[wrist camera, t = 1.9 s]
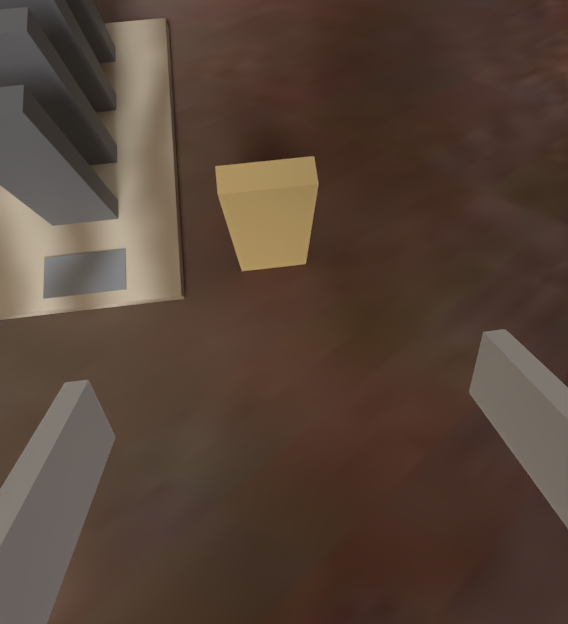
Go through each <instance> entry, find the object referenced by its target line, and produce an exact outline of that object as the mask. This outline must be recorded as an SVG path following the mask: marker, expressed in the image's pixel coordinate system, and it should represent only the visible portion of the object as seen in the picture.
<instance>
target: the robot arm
mask: <svg viewBox="0 0 568 624" xmlns="http://www.w3.org/2000/svg"><path fill="white" fill-rule="evenodd" d="M469 393H470V395H471V396H472V397H473V399H474V400H475V401H476V403H477V404H478V406H479V407H480V408H481V410H482V411H483V412H484V414H485V415H486V417H487V418H488V419H489V421H490V422H491V423H492V425H493V426H494V428H495V429H496V430H497V432H498V433H499V434H500V436H501V437H502V439H503V440H504V441H505V443H506V444H507V445H508V447H509V448H510V450H511V451H512V452H513V454H514V455H515V456H516V458H517V459H518V461H519V462H520V463H521V465H522V466H523V467H524V469H525V470H526V472H527V473H528V474H529V476H530V477H531V478H532V480H533V481H534V483H535V484H536V485H537V487H538V488H539V489H540V491H541V492H542V494H543V495H544V496H545V498H546V499H547V500H548V502H549V503H550V505H551V506H552V507H553V509H554V510H555V511H556V513H557V514H558V516H559V517H560V518H561V520H562V521H563V522H564V524H565V525H566V527H567V528H568V388H567V387H566V386H565V385H564V384H563V383H562V382H561V381H560V380H559V379H558V378H557V377H556V376H555V375H554V374H553V373H552V372H550V371H549V370H548V369H547V368H546V367H545V366H544V365H543V364H542V363H541V362H540V361H539V360H538V359H537V358H536V357H534V356H533V355H532V354H531V353H530V352H529V351H528V350H527V349H526V348H525V347H524V346H523V345H522V344H521V343H520V342H519V341H517V340H516V339H515V338H514V337H513V336H512V335H511V334H510V333H509V332H508V331H507V330H506V329H503V330H495V331H487V332H483V335H482V339H481V344H480V348H479V352H478V357H477V361H476V365H475V369H474V374H473V378H472V382H471V386H470V391H469ZM114 440H115V435H114V433H113V431H112V429H111V426H110V424H109V422H108V420H107V418H106V416H105V414H104V411H103V409H102V407H101V405H100V403H99V401H98V399H97V396H96V394H95V392H94V390H93V388H92V386H91V384H90V381H89V380H82V381H74V382H66V383H64V385H63V386H62V388H61V390H60V391H59V393H58V395H57V396H56V398H55V400H54V401H53V403H52V405H51V406H50V408H49V410H48V411H47V413H46V414H45V416H44V418H43V419H42V421H41V423H40V424H39V426H38V428H37V429H36V431H35V433H34V434H33V436H32V438H31V439H30V441H29V443H28V444H27V446H26V447H25V449H24V451H23V452H22V454H21V456H20V457H19V459H18V461H17V462H16V464H15V466H14V467H13V469H12V471H11V472H10V474H9V476H8V477H7V479H6V480H5V482H4V484H3V485H2V487H1V489H0V624H47V622H48V619H49V616H50V614H51V611H52V608H53V606H54V603H55V600H56V597H57V595H58V592H59V589H60V587H61V584H62V581H63V578H64V576H65V573H66V570H67V568H68V565H69V562H70V559H71V557H72V554H73V551H74V549H75V546H76V543H77V540H78V538H79V535H80V532H81V530H82V527H83V524H84V521H85V519H86V516H87V513H88V511H89V508H90V505H91V502H92V500H93V497H94V494H95V492H96V489H97V486H98V483H99V481H100V478H101V475H102V473H103V470H104V467H105V464H106V462H107V459H108V456H109V454H110V451H111V448H112V445H113V443H114Z"/></svg>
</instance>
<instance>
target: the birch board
mask: <svg viewBox="0 0 568 624" xmlns="http://www.w3.org/2000/svg"><path fill="white" fill-rule="evenodd" d="M104 24H105V26H106V28H107V30H108V32H109V34H110V37H111V39H112V41H113V43H114V45H115V60H116V62H106V63H100V65H101V67H102V69H103V71H104V73H105V75H106V76H107V78H108V80H109V82H110V84H111V86H112V88H113V89H114V91H115V93H116V110H112V111H102V112H96V113H97V115H98V116H99V118H100V120H101V121H102V123H103V124H104V126H105V127H106V129H107V130H108V132H109V134H110V135H111V137H112V138H113V140H114V141H115V143H116V144H117V162H116V163H107V164H97V165H90V167H91V168H92V169H93V170H94V171H95V173H96V174H97V175H98V176H99V178H100V179H101V180H102V181H103V183H104V184H105V185H106V186H107V187H108V189H109V190H110V191H111V192H112V194H113V195H114V196H115V197H116V198H117V200H118V219H113V220H103V221H94V222H84V223H75V224H66V225H56V226H52V225H51V224H50V223H48V222H47V221H46V220H45V219H43V218H42V217H41V216H39V215H38V214H37V213H35V212H34V211H33V210H32V209H30V208H29V207H28V206H26V205H25V204H24V203H22V202H21V201H20V200H19V199H17V198H16V197H15V196H13V195H12V194H11V193H9V192H8V191H7V190H6V189H4V188H3V187H2V186H0V320H2V319H11V318H20V317H29V316H38V315H46V314H55V313H64V312H73V311H82V310H90V309H99V308H108V307H117V306H126V305H134V304H143V303H152V302H161V301H170V300H178V299H185V292H184V276H183V259H182V242H181V226H180V209H179V192H178V175H177V159H176V142H175V125H174V109H173V92H172V75H171V58H170V42H169V28H168V25H167V21H166V18H159V19H148V20H137V21H126V22H115V23H104Z"/></svg>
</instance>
